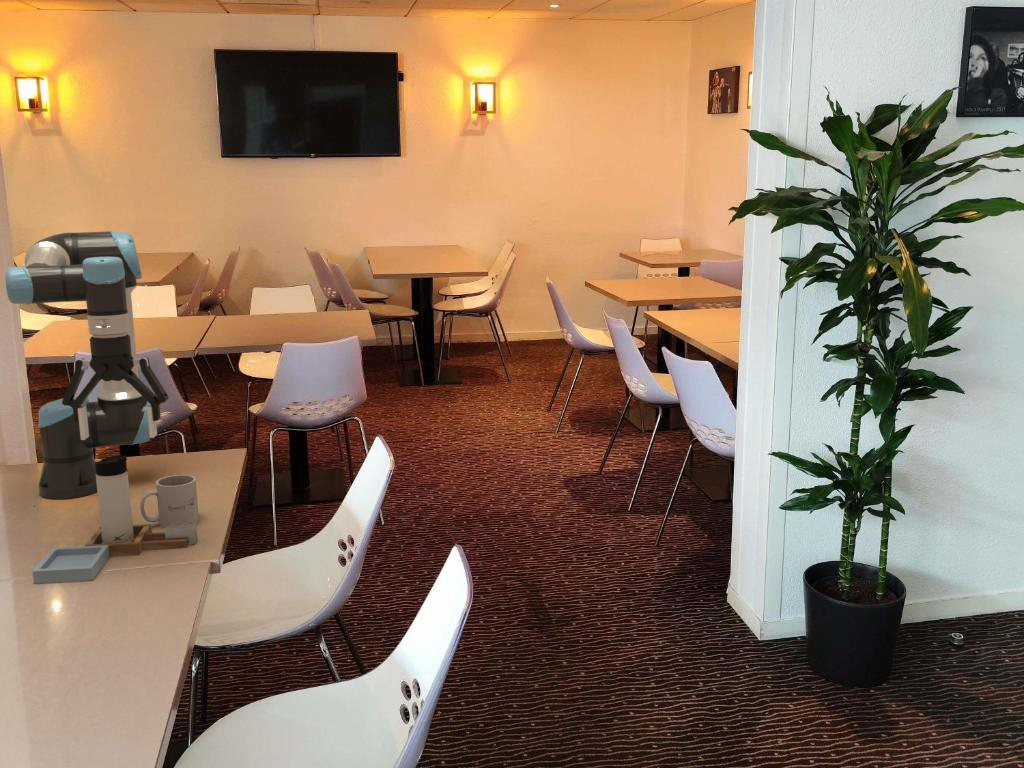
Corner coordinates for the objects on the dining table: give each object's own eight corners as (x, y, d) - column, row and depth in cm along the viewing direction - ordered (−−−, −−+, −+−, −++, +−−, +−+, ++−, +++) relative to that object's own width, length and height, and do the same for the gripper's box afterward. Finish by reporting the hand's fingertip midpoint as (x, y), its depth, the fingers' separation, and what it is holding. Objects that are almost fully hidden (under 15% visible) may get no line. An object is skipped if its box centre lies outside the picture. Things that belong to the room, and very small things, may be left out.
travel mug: (124, 552, 202) (116, 462, 198) (96, 550, 203) (87, 460, 199) (141, 541, 208) (133, 453, 204) (114, 539, 209) (105, 452, 205)
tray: (54, 559, 198) (52, 548, 198) (109, 556, 200) (108, 545, 199) (33, 583, 187) (32, 571, 186) (92, 580, 188) (91, 568, 188)
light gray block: (169, 540, 208) (167, 523, 207) (197, 539, 209) (196, 522, 208) (166, 546, 205) (164, 528, 205) (194, 544, 206) (193, 527, 205)
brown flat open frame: (101, 537, 211) (100, 526, 210) (194, 532, 213) (193, 521, 213) (85, 557, 199) (83, 546, 199) (183, 552, 202) (182, 541, 201)
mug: (198, 513, 225) (195, 473, 223) (199, 526, 217) (195, 484, 215) (143, 519, 221) (139, 478, 219) (141, 532, 213) (137, 490, 211)
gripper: (37, 339, 186) (49, 443, 191) (168, 336, 188) (177, 440, 193) (52, 333, 194) (62, 434, 198) (178, 330, 196) (186, 430, 200)
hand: (119, 437), depth 195 cm, fingers open, 13 cm apart
